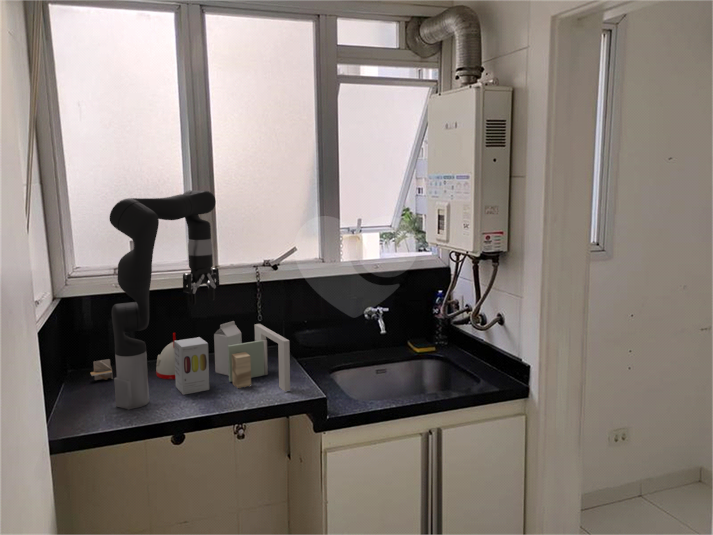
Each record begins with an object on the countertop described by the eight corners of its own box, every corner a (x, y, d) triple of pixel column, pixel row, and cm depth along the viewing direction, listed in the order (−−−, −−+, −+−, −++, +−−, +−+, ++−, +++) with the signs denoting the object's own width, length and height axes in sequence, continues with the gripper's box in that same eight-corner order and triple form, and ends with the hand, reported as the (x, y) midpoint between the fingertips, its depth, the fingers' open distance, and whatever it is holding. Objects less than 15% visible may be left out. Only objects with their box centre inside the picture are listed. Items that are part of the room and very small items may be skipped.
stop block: (251, 385, 198) (250, 355, 197) (237, 388, 196) (236, 358, 194) (246, 381, 203) (245, 352, 201) (232, 384, 200) (231, 354, 198)
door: (265, 372, 211) (264, 338, 209) (268, 374, 209) (267, 340, 206) (227, 379, 203) (226, 344, 201) (230, 381, 201) (229, 346, 199)
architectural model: (113, 381, 204) (112, 361, 203) (92, 385, 200) (90, 364, 199) (111, 378, 207) (110, 359, 206) (91, 382, 203) (89, 362, 202)
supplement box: (182, 395, 190) (180, 347, 187) (174, 387, 197) (172, 340, 195) (210, 389, 195) (208, 342, 192) (201, 381, 203) (200, 336, 200)
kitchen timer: (194, 365, 220) (192, 327, 218) (196, 376, 208) (194, 337, 205) (156, 368, 216) (154, 330, 214) (156, 381, 203) (153, 340, 201)
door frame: (255, 370, 214) (254, 324, 211) (260, 369, 215) (259, 323, 212) (284, 392, 192) (283, 341, 190) (290, 391, 193) (289, 340, 191)
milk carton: (242, 370, 214) (241, 322, 211) (229, 376, 208) (227, 326, 205) (229, 367, 218) (227, 319, 215) (215, 372, 212) (213, 323, 209)
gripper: (193, 256, 174) (195, 307, 176) (224, 251, 186) (225, 299, 189) (175, 254, 177) (177, 305, 180) (207, 249, 190) (208, 297, 192)
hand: (202, 302), depth 184 cm, fingers open, 8 cm apart
